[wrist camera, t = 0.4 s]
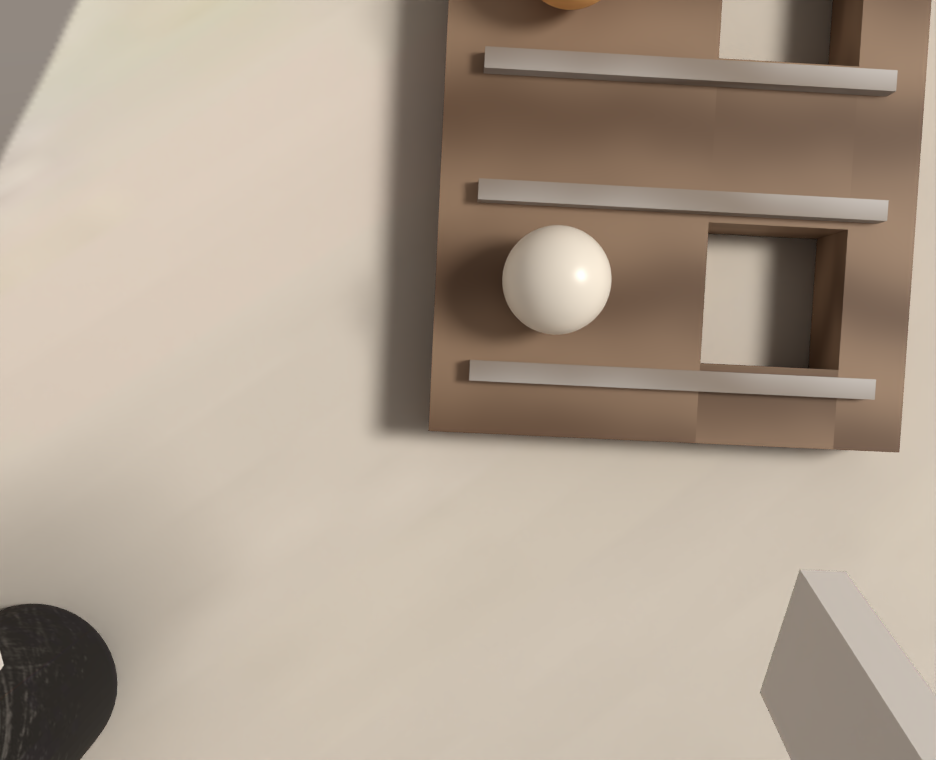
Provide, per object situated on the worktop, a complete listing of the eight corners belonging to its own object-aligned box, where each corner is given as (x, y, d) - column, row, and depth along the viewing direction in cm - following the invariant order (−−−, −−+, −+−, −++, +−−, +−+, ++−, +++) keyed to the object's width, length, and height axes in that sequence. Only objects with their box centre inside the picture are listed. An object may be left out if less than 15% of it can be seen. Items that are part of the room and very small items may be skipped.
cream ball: (596, 338, 29) (619, 336, 25) (496, 333, 29) (503, 330, 25) (602, 236, 29) (626, 218, 25) (501, 231, 29) (509, 212, 25)
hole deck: (864, 444, 32) (908, 454, 29) (430, 424, 32) (428, 432, 29) (903, -118, 31) (952, -169, 28) (457, -147, 31) (457, -202, 28)
